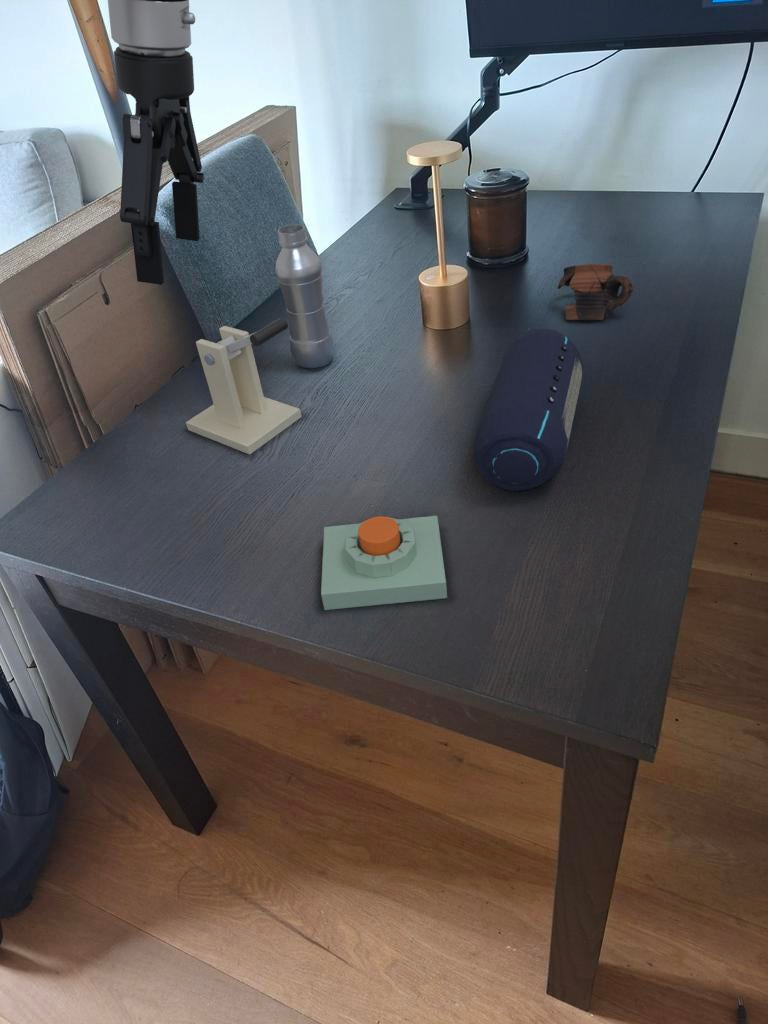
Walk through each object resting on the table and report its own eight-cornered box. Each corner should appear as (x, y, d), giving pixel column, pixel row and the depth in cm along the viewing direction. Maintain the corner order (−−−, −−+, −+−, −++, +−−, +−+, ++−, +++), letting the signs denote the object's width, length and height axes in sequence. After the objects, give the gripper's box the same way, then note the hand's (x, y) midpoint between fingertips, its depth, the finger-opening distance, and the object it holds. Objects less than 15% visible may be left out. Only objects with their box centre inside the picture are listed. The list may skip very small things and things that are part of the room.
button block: (324, 610, 74) (317, 581, 71) (327, 542, 82) (321, 513, 79) (447, 598, 73) (445, 568, 71) (438, 531, 81) (436, 502, 79)
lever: (292, 330, 89) (282, 312, 88) (262, 349, 86) (252, 329, 86) (238, 352, 98) (229, 335, 97) (210, 369, 95) (200, 352, 95)
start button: (360, 558, 74) (358, 544, 73) (360, 531, 77) (357, 518, 76) (401, 554, 74) (399, 540, 72) (399, 527, 77) (397, 514, 76)
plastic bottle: (312, 349, 117) (287, 218, 105) (346, 358, 114) (325, 223, 101) (284, 367, 113) (255, 234, 101) (319, 377, 110) (293, 240, 97)
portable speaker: (560, 509, 82) (564, 431, 75) (469, 499, 85) (465, 424, 78) (584, 389, 100) (589, 318, 93) (508, 385, 103) (508, 316, 96)
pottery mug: (545, 322, 117) (546, 266, 115) (574, 326, 124) (575, 273, 122) (620, 316, 109) (622, 257, 107) (646, 320, 116) (649, 264, 114)
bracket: (302, 417, 102) (284, 329, 94) (249, 455, 96) (225, 365, 88) (240, 395, 108) (218, 312, 100) (188, 430, 103) (160, 344, 95)
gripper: (147, 75, 65) (168, 308, 78) (223, 35, 84) (229, 227, 98) (61, 64, 65) (96, 298, 78) (157, 26, 84) (172, 219, 98)
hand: (170, 259), depth 88 cm, fingers open, 13 cm apart
